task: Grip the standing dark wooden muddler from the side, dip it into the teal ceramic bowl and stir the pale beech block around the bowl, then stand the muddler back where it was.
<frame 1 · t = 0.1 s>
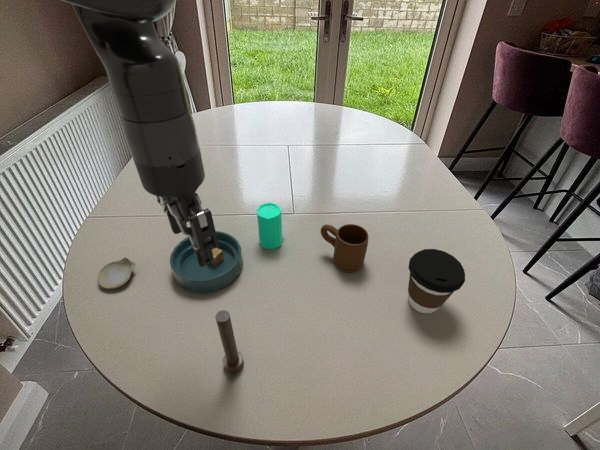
hand: (192, 246, 49), 26 cm above the table, tool pointing down, fingers open, 8 cm apart
muddler: (234, 364, 63), on the table
mug: (340, 259, 84), on the table
candle: (270, 241, 88), on the table
coffee cup: (422, 302, 74), on the table
seashell: (119, 278, 78), on the table
block: (215, 260, 82), point 1 cm above the table, touching bowl
bowl: (209, 266, 81), on the table
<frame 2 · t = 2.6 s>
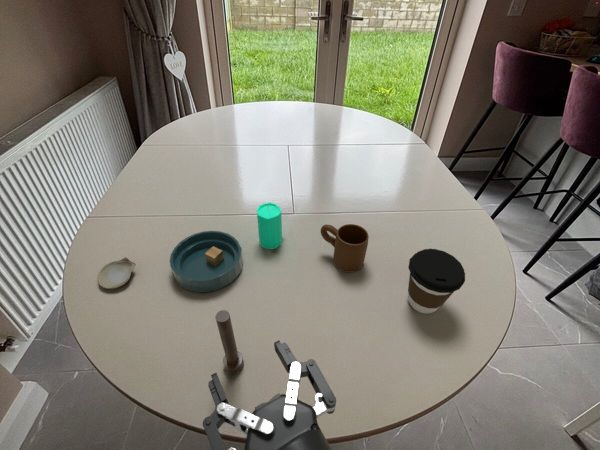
hand: (246, 360, 42), 20 cm above the table, tool horizontal, fingers open, 8 cm apart
nothing on the table moved.
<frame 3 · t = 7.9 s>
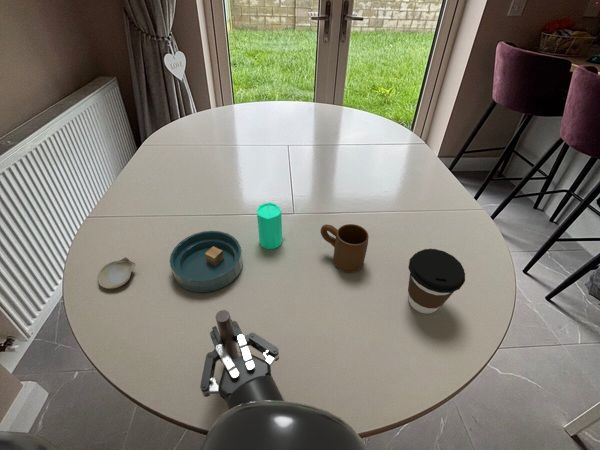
hand: (222, 326, 59), 9 cm above the table, tool horizontal, fingers closed on muddler, 2 cm apart
muddler: (234, 364, 63), on the table, touching gripper
everything else where it was.
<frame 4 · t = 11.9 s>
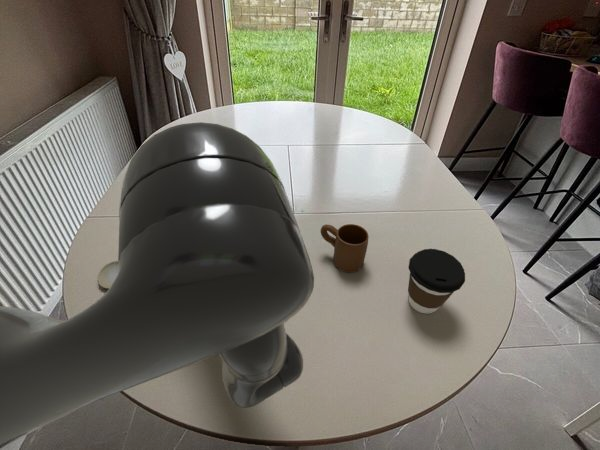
hand: (193, 221, 66), 18 cm above the table, tool horizontal, fingers closed on muddler
muddler: (205, 262, 70), point 9 cm above the table, touching gripper
everything else where it was.
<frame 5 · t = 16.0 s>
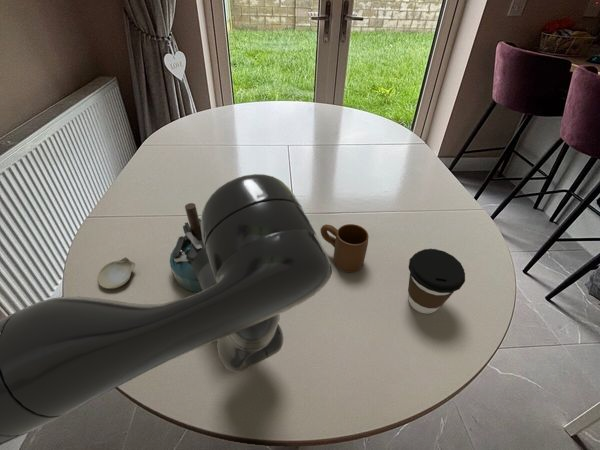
hand: (192, 223, 76), 11 cm above the table, tool horizontal, fingers closed on muddler, 2 cm apart
muddler: (204, 259, 80), point 2 cm above the table, touching gripper
block: (218, 252, 84), point 1 cm above the table, touching bowl
everything else where it was.
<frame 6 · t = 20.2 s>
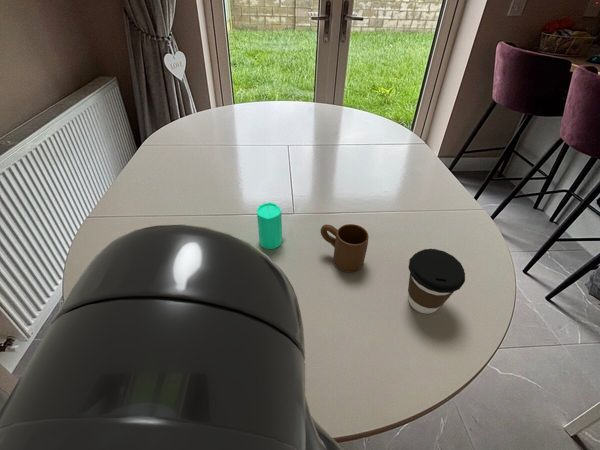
hand: (206, 272, 56), 18 cm above the table, tool horizontal, fingers closed on muddler
muddler: (220, 317, 60), point 9 cm above the table, touching gripper
everything else where it was.
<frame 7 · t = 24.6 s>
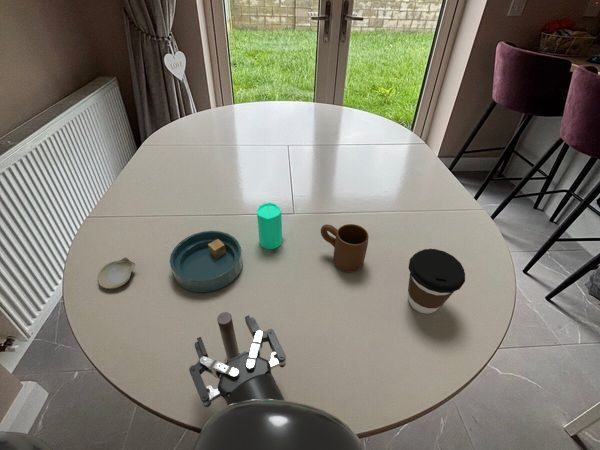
hand: (223, 329, 57), 10 cm above the table, tool horizontal, fingers open, 8 cm apart
muddler: (235, 366, 62), on the table
everything else where it was.
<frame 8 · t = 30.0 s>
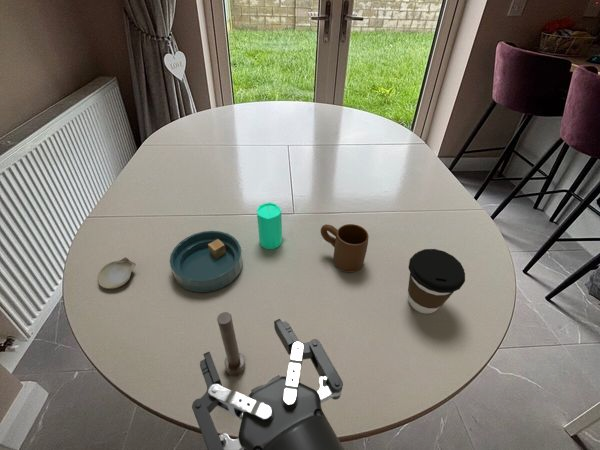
hand: (243, 339, 38), 26 cm above the table, tool horizontal, fingers open, 8 cm apart
nothing on the table moved.
at the end: block moved 2.6 cm from its start; block inside the target area in the bowl (4.4 cm from its centre), point 0.6 cm above the bowl's base; muddler tilted 0° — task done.
